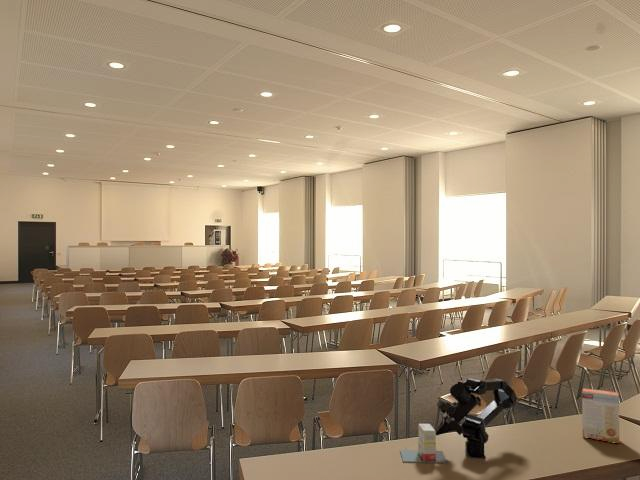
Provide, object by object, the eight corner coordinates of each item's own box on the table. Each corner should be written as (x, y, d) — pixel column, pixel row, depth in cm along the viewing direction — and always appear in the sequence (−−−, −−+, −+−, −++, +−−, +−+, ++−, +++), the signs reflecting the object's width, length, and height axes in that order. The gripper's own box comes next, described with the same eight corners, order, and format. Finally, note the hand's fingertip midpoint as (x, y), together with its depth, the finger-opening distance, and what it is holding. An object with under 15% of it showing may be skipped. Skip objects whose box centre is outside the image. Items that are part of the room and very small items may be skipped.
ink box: (436, 461, 195) (436, 430, 195) (424, 461, 195) (424, 431, 195) (429, 452, 204) (429, 422, 204) (417, 452, 203) (417, 423, 204)
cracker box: (619, 440, 217) (619, 392, 217) (619, 445, 212) (618, 395, 212) (583, 433, 224) (583, 387, 224) (582, 438, 219) (581, 390, 219)
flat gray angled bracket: (442, 451, 204) (442, 450, 204) (447, 463, 193) (447, 462, 193) (400, 450, 205) (400, 449, 205) (403, 462, 194) (403, 461, 194)
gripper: (444, 385, 208) (417, 411, 208) (454, 399, 190) (425, 428, 190) (463, 404, 208) (436, 431, 208) (475, 420, 189) (446, 449, 189)
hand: (435, 434), depth 199 cm, fingers closed
